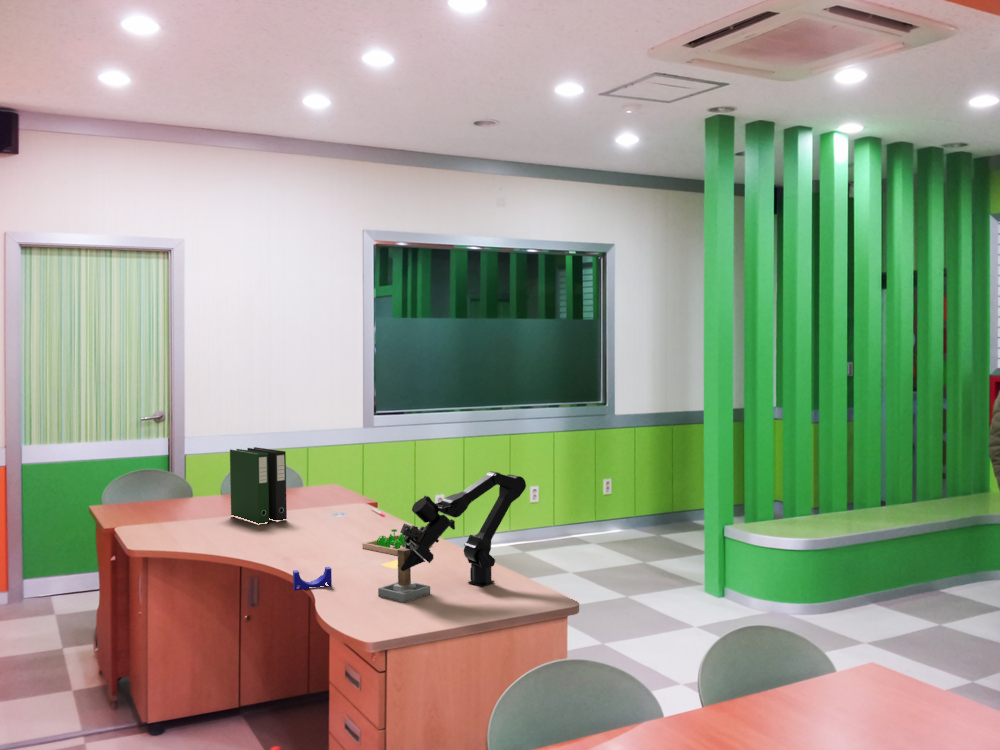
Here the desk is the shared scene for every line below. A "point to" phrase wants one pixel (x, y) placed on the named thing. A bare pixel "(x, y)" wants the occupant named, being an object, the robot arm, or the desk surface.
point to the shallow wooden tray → (381, 547)
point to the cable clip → (315, 583)
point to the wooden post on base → (403, 573)
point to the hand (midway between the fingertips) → (400, 568)
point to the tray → (403, 596)
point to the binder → (258, 484)
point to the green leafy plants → (391, 540)
